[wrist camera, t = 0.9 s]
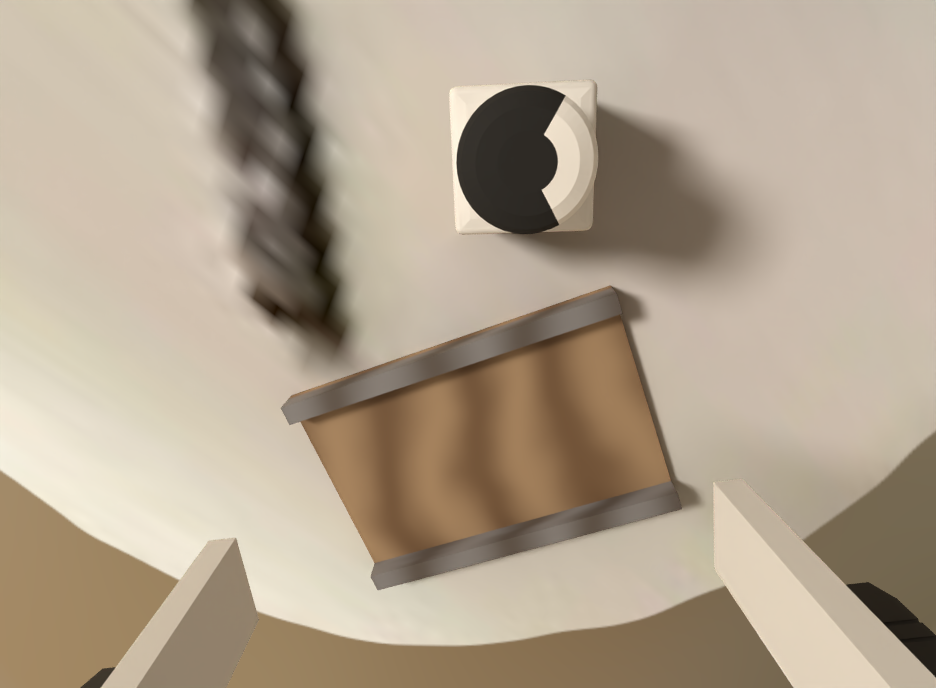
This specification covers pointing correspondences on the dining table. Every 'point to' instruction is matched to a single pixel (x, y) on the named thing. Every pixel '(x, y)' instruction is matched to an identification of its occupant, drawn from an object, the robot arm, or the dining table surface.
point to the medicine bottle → (524, 156)
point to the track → (492, 442)
